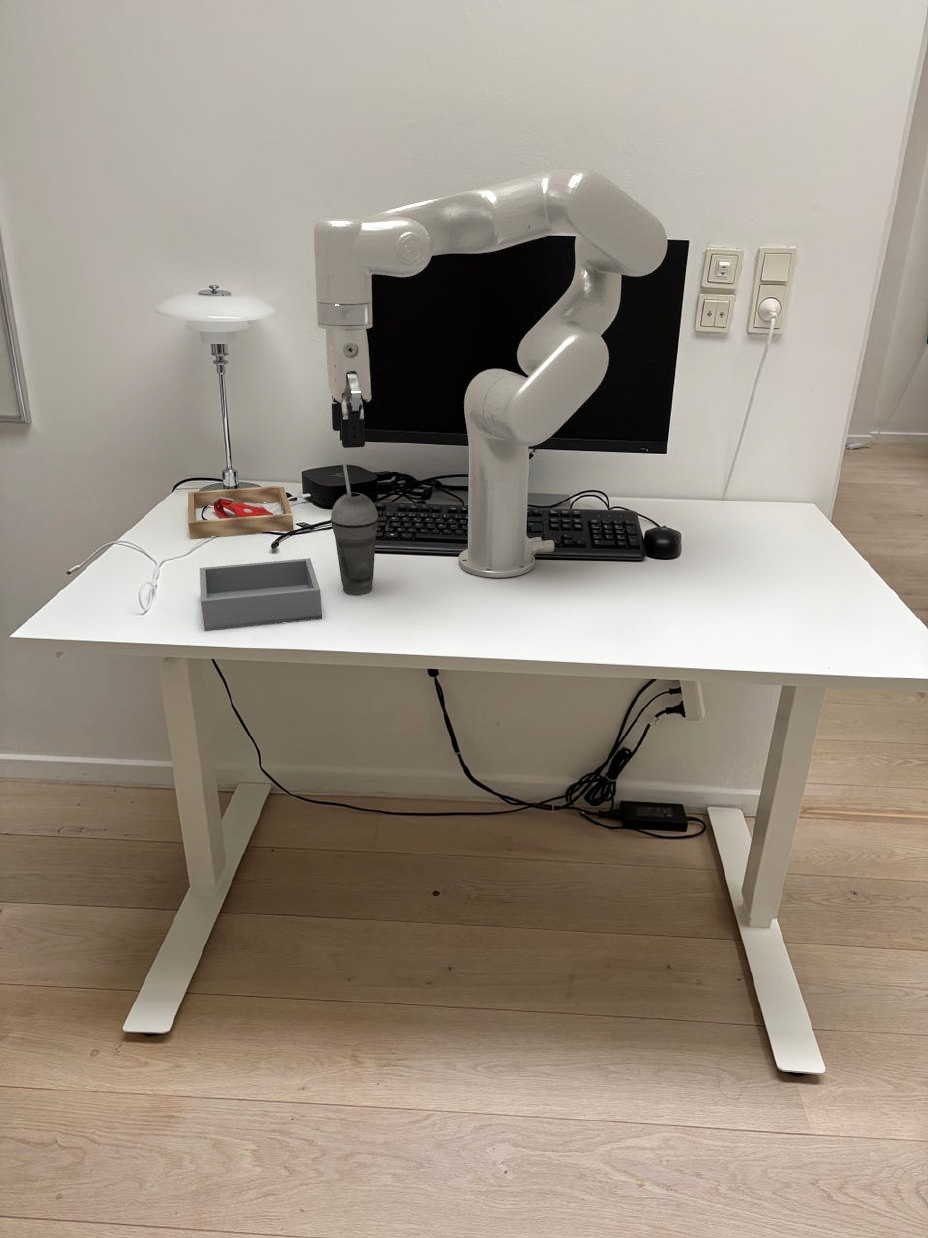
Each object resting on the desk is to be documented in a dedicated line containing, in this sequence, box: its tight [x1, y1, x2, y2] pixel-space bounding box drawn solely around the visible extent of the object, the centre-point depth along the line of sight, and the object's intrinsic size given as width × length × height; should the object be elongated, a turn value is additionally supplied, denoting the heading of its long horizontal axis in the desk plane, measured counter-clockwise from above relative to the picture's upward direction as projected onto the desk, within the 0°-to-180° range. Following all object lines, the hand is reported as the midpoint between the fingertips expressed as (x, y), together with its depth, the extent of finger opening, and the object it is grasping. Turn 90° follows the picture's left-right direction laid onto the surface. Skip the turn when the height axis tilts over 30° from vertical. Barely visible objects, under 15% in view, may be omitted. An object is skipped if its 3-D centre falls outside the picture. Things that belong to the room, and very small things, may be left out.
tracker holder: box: [211, 497, 274, 519], centre depth 178 cm, size 12×4×10 cm
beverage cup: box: [329, 463, 380, 596], centre depth 145 cm, size 7×7×20 cm
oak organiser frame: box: [187, 485, 295, 540], centre depth 178 cm, size 18×18×3 cm
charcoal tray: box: [199, 558, 323, 632], centre depth 142 cm, size 17×13×5 cm
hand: (348, 438), depth 139 cm, fingers open, 9 cm apart
